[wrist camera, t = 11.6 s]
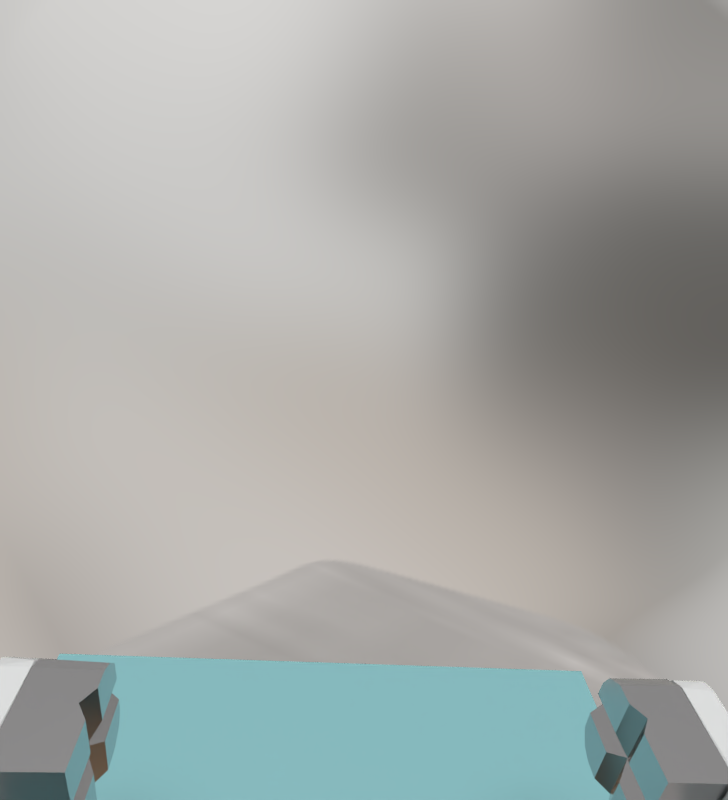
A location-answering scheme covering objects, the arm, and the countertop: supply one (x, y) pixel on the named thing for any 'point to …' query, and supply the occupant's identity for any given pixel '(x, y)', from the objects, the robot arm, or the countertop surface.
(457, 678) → the money box
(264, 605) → the countertop surface
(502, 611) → the countertop surface
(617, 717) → the robot arm
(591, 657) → the countertop surface
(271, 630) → the countertop surface
